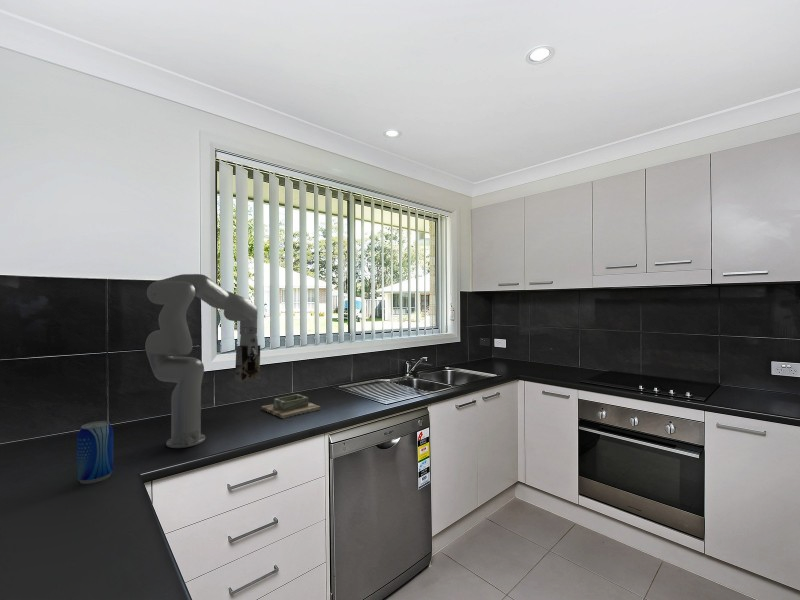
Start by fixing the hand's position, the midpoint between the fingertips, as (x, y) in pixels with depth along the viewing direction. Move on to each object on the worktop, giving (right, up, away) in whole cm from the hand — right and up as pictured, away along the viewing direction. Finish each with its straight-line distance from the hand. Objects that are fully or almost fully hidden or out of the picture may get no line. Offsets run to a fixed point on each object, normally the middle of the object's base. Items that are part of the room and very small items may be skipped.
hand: (247, 369), depth 176 cm
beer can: (-19, -21, -64) cm, 70 cm away
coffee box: (0, -5, 0) cm, 5 cm away
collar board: (+18, -21, +7) cm, 28 cm away
